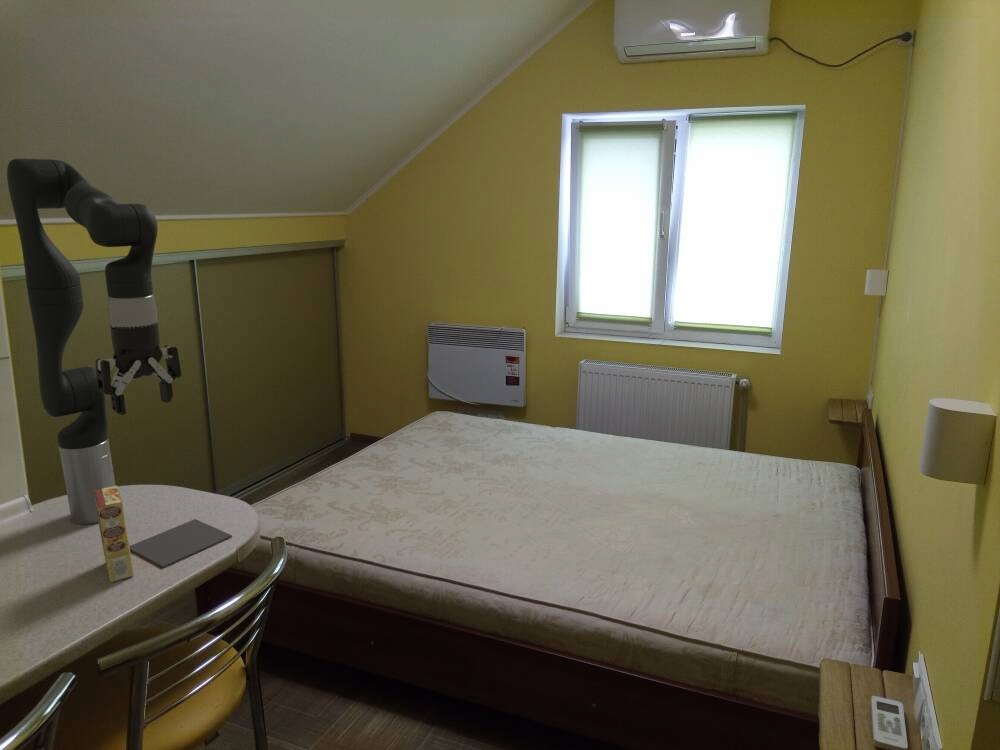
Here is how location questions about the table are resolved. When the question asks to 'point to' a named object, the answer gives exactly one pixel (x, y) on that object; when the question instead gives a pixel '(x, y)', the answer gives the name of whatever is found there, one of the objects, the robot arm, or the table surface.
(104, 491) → the candy box
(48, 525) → the table surface
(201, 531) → the mat
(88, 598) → the table surface
